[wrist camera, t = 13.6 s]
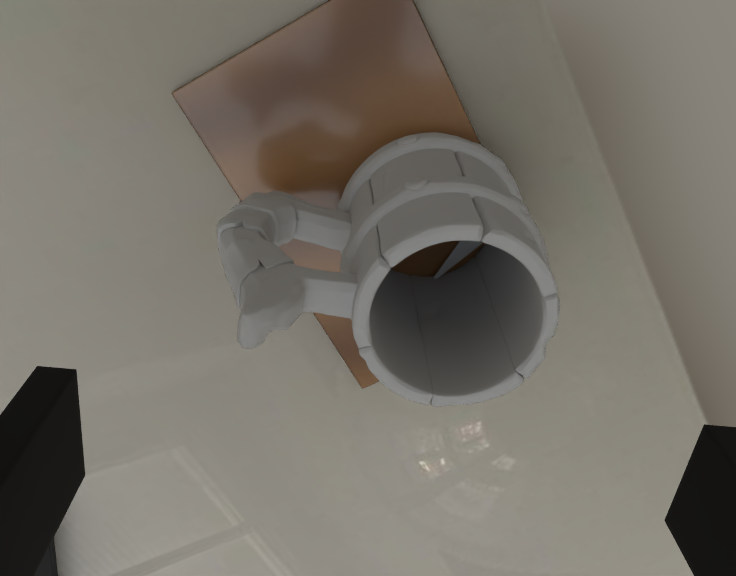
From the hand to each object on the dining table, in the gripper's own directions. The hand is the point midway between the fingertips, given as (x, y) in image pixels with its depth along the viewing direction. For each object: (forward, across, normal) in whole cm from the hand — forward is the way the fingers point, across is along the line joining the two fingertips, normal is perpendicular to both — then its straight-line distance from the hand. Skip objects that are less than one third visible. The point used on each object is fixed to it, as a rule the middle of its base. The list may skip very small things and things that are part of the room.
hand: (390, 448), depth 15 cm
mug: (+17, 0, 0) cm, 17 cm away
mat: (+17, 0, 0) cm, 17 cm away
